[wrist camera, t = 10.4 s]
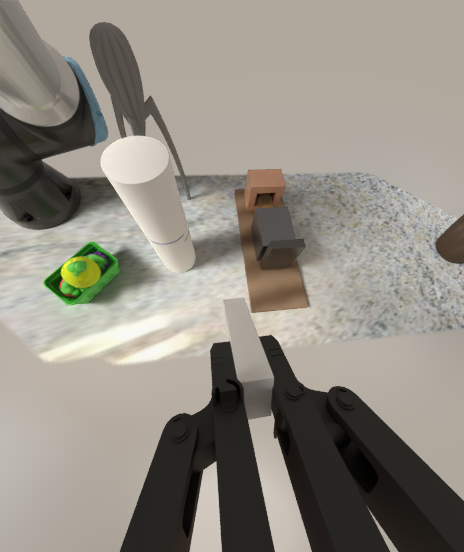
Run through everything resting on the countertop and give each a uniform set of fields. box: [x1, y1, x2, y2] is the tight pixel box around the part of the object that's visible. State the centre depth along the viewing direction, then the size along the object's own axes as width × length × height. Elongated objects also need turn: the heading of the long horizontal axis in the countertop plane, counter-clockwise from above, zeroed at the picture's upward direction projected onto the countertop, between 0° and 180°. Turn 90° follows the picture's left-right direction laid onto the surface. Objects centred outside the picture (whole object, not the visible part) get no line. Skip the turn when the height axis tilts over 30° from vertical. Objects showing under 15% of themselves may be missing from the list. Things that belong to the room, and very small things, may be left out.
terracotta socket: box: [244, 169, 285, 210], centre depth 47 cm, size 5×8×8 cm, turn 96°
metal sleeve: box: [251, 207, 295, 261], centre depth 44 cm, size 9×7×7 cm
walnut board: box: [235, 189, 308, 313], centre depth 47 cm, size 32×12×1 cm, turn 6°
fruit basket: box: [43, 242, 121, 305], centre depth 37 cm, size 11×9×11 cm
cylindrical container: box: [101, 136, 196, 273], centre depth 33 cm, size 7×7×25 cm
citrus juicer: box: [89, 22, 191, 200], centre depth 36 cm, size 11×10×30 cm
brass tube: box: [256, 193, 305, 270], centre depth 42 cm, size 20×6×10 cm, turn 6°
